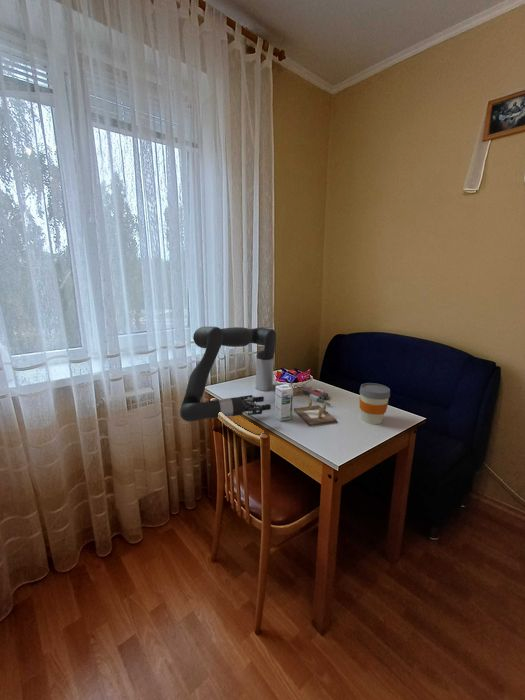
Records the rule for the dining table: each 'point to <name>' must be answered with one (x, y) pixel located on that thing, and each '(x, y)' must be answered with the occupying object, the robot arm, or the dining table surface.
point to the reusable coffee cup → (373, 402)
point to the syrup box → (283, 402)
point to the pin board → (315, 414)
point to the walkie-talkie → (316, 394)
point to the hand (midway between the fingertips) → (266, 402)
